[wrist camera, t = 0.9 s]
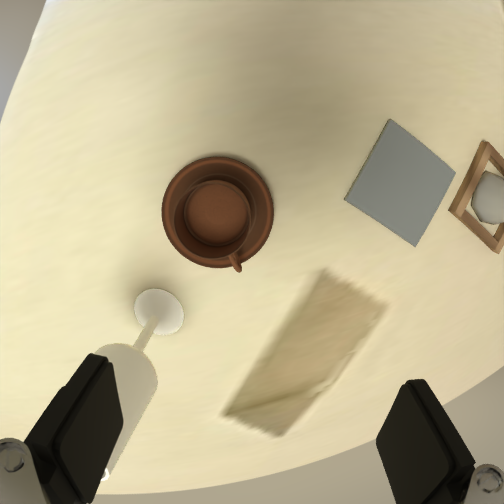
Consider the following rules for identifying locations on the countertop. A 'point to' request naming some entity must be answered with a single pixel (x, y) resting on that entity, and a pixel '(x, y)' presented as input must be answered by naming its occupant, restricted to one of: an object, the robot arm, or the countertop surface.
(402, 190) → the slate tile
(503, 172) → the square wooden frame
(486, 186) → the flask
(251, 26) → the countertop surface
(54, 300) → the countertop surface
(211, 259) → the cup and saucer
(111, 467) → the champagne flute
